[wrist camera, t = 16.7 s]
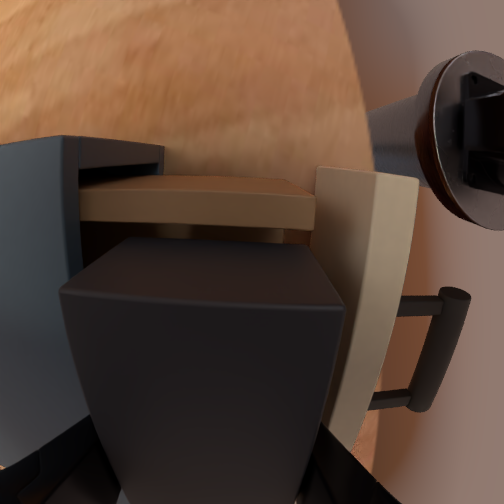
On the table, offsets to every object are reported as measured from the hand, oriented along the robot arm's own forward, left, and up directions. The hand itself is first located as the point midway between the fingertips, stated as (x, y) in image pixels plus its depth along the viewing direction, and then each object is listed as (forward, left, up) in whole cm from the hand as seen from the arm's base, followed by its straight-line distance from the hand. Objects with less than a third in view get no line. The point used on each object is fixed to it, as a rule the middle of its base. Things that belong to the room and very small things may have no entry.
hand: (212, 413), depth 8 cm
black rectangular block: (0, 0, -1) cm, 1 cm away
